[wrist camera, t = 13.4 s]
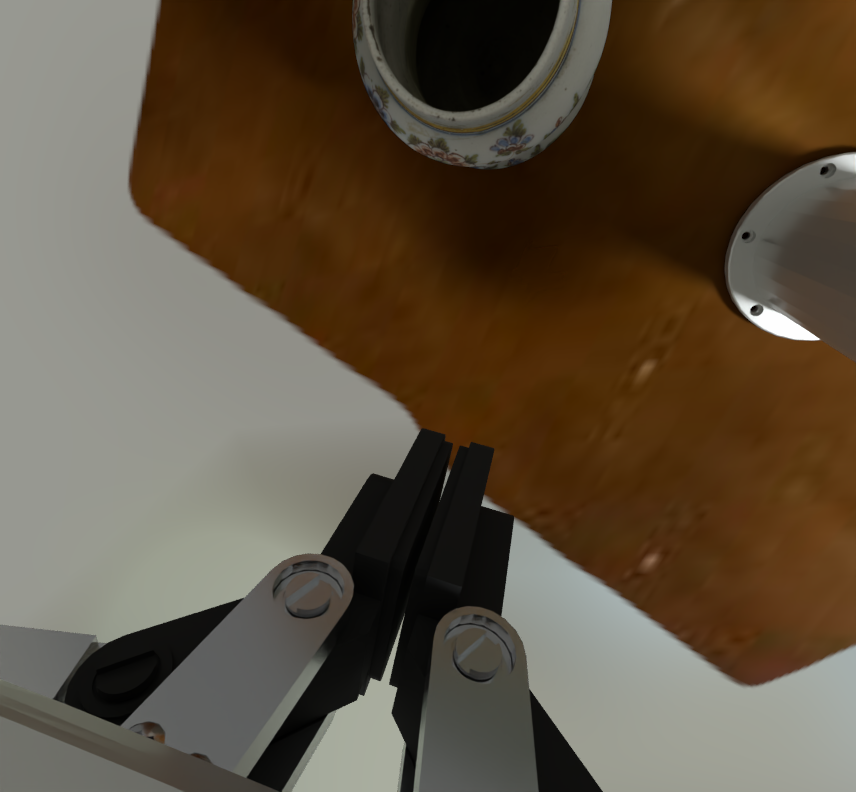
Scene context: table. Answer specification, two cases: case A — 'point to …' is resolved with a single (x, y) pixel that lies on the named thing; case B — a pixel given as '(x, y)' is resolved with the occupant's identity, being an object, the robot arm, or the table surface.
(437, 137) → the apothecary jar
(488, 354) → the table surface
